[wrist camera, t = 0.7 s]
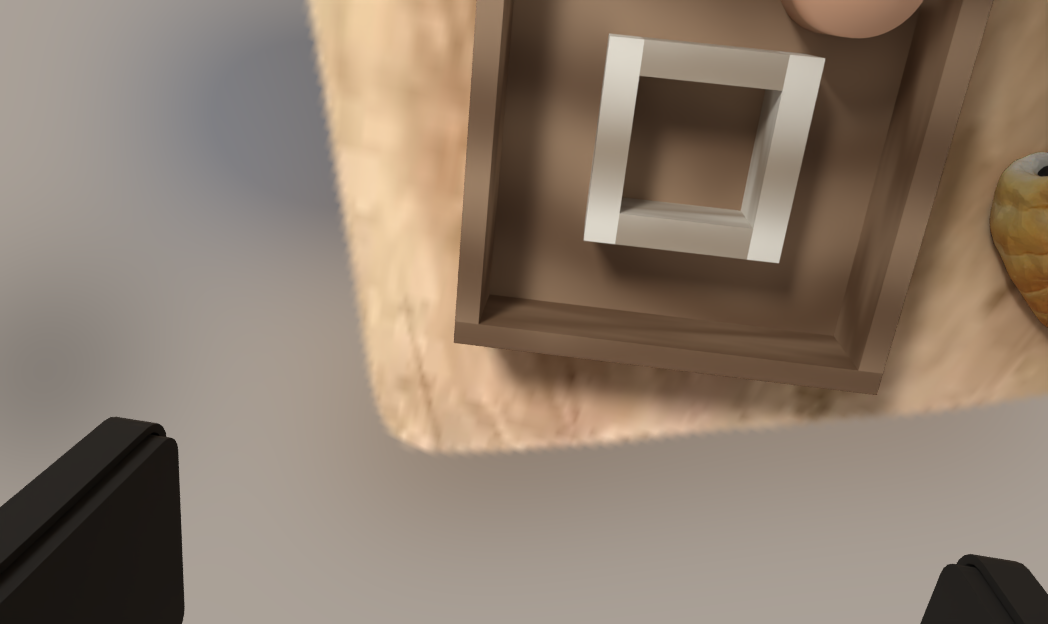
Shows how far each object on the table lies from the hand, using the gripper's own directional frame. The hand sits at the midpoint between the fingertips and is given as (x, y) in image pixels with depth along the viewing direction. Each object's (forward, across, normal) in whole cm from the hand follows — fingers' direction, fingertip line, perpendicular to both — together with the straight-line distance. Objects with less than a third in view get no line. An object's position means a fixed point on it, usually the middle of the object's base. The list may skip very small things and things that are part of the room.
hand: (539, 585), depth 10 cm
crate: (+27, -4, -3) cm, 28 cm away
